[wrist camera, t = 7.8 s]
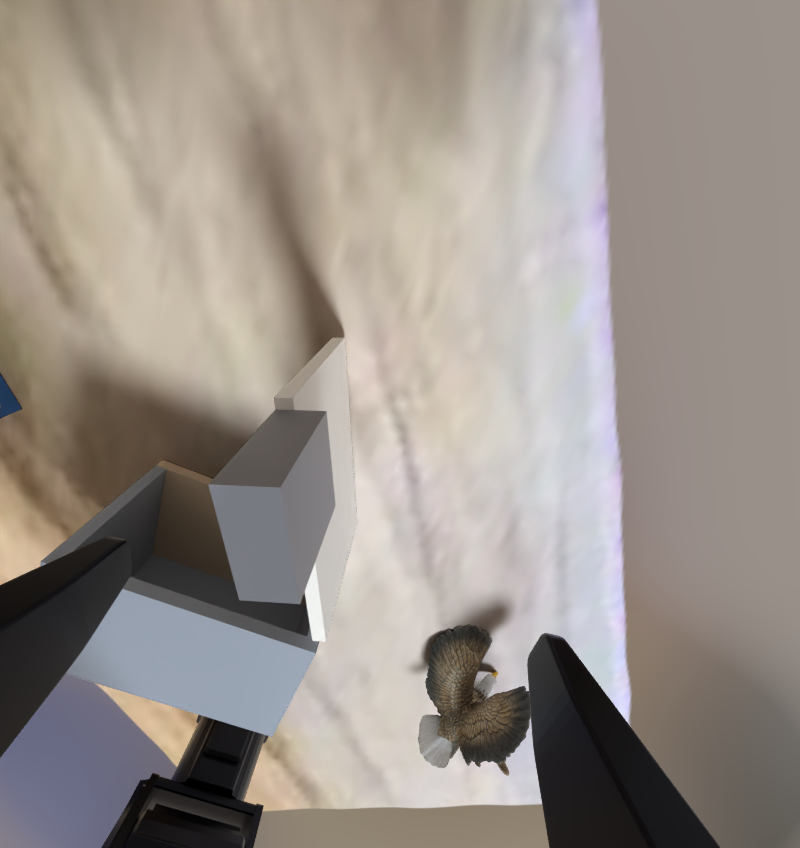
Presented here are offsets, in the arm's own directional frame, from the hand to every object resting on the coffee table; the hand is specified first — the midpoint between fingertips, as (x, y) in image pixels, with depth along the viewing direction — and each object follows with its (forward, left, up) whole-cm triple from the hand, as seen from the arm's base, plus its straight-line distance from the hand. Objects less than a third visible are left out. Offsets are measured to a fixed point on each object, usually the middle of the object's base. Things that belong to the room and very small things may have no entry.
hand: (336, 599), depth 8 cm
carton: (-14, +5, -13) cm, 20 cm away
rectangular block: (-4, +1, -13) cm, 13 cm away
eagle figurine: (-19, -14, -13) cm, 27 cm away
